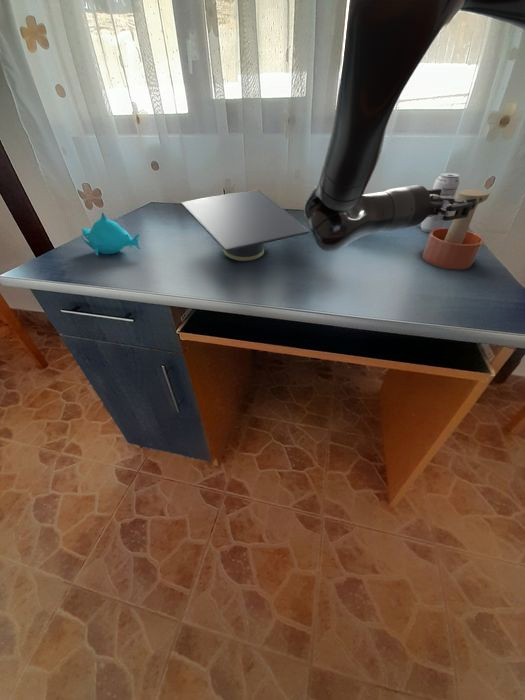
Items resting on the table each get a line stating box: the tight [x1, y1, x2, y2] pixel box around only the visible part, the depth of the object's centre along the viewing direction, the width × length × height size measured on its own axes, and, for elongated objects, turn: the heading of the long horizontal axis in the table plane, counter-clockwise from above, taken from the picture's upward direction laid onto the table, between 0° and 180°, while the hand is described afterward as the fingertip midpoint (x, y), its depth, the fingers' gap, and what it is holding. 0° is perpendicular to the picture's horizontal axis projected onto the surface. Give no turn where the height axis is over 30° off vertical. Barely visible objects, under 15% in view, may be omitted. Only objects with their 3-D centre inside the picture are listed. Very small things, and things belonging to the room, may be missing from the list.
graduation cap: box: [180, 190, 311, 262], centre depth 77 cm, size 28×23×10 cm
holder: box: [421, 227, 484, 270], centre depth 73 cm, size 11×11×6 cm
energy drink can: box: [419, 172, 460, 234], centre depth 86 cm, size 6×6×15 cm
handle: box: [444, 189, 491, 244], centre depth 70 cm, size 5×6×15 cm
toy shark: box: [81, 211, 141, 256], centre depth 76 cm, size 10×18×11 cm, turn 72°
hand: (455, 198), depth 64 cm, fingers open, 8 cm apart
